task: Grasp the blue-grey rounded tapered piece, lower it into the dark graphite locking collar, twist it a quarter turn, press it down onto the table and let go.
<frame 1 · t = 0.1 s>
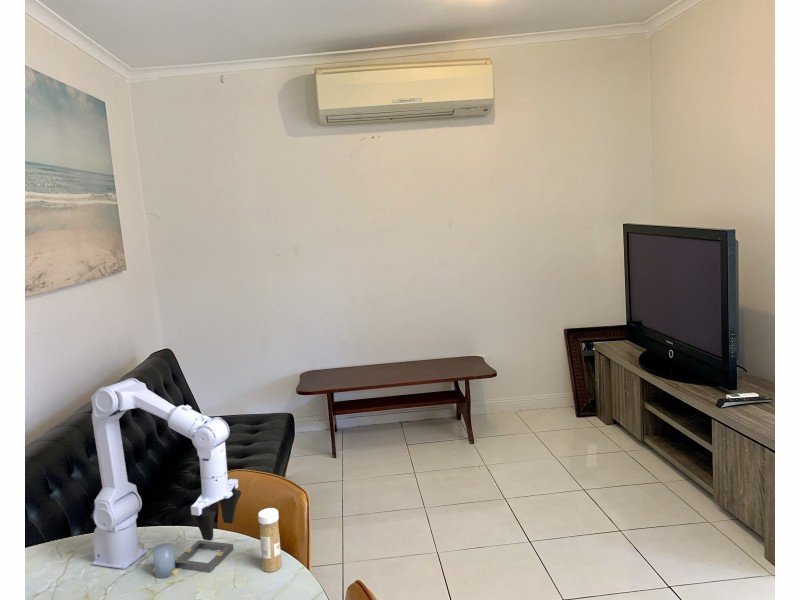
hand: (218, 530, 128), 10 cm above the table, fingers open, 7 cm apart
collar: (204, 558, 135), on the table
blue-grey rounded tapered piece: (165, 572, 130), on the table
sprinkles bottle: (272, 567, 131), on the table
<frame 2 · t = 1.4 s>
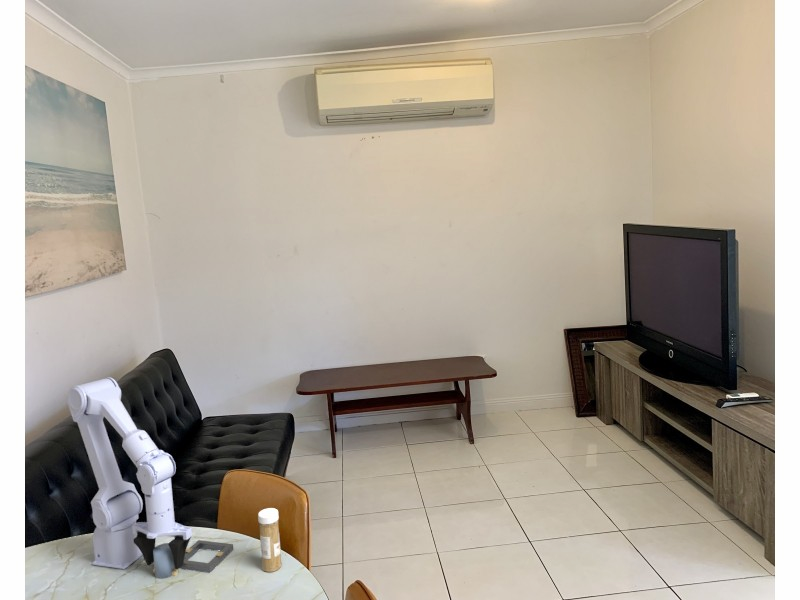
hand: (165, 564, 130), 2 cm above the table, fingers open, 7 cm apart
nothing on the table moved.
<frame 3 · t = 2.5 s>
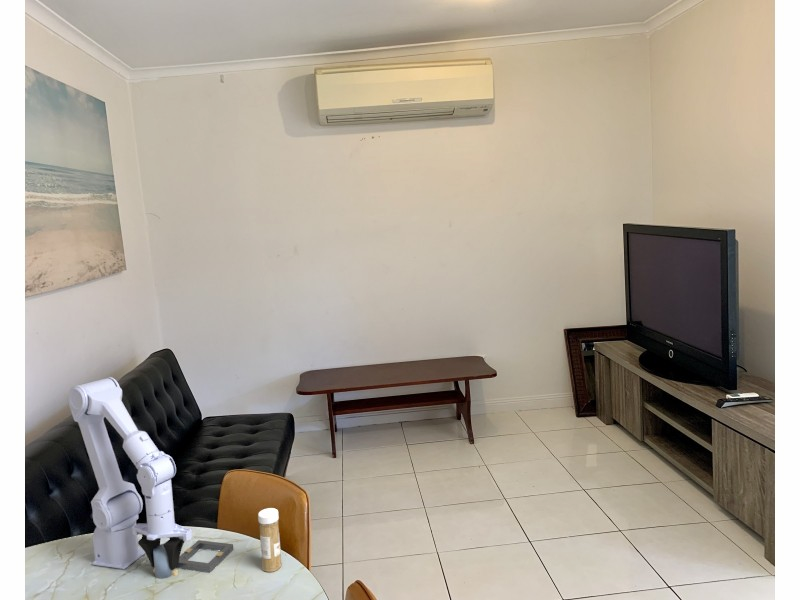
hand: (165, 566, 130), 2 cm above the table, fingers closed on blue-grey rounded tapered piece, 4 cm apart
blue-grey rounded tapered piece: (165, 572, 130), on the table, touching gripper
everything else where it was.
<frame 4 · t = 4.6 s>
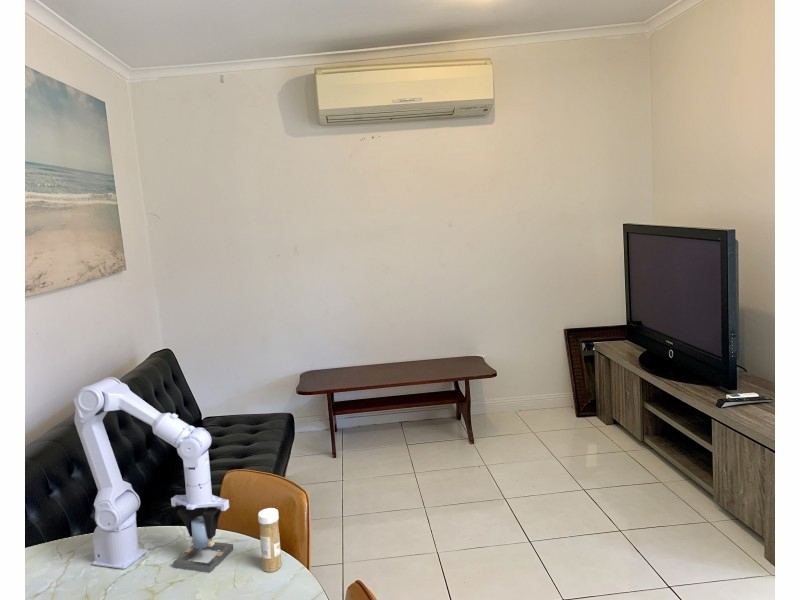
hand: (202, 535, 135), 6 cm above the table, fingers closed on blue-grey rounded tapered piece, 4 cm apart
blue-grey rounded tapered piece: (202, 543, 135), point 4 cm above the table, touching gripper
everything else where it was.
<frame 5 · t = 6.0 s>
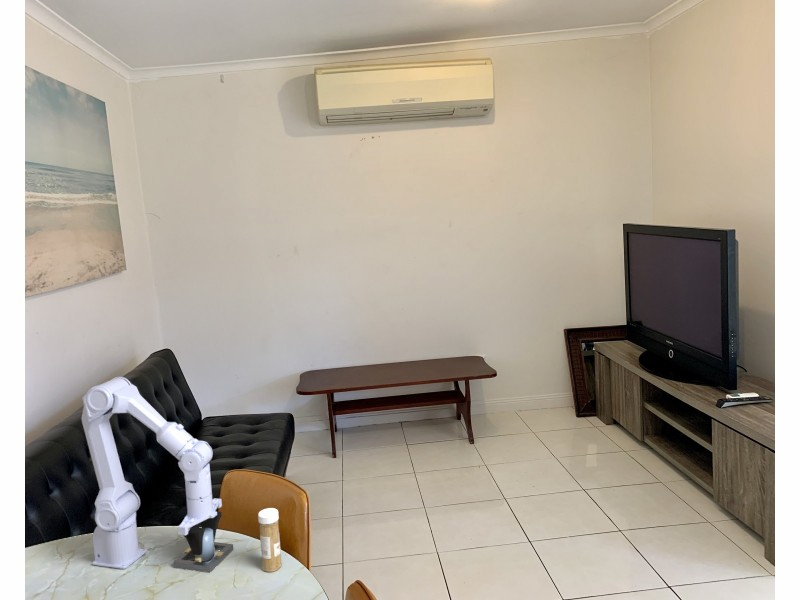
hand: (203, 548, 135), 3 cm above the table, fingers closed on blue-grey rounded tapered piece, 4 cm apart
blue-grey rounded tapered piece: (205, 556, 135), point 1 cm above the table, touching gripper
everything else where it was.
when the fingers open (2 cm above the table, at t = 6.7 s): blue-grey rounded tapered piece stays where it is, resting in collar.
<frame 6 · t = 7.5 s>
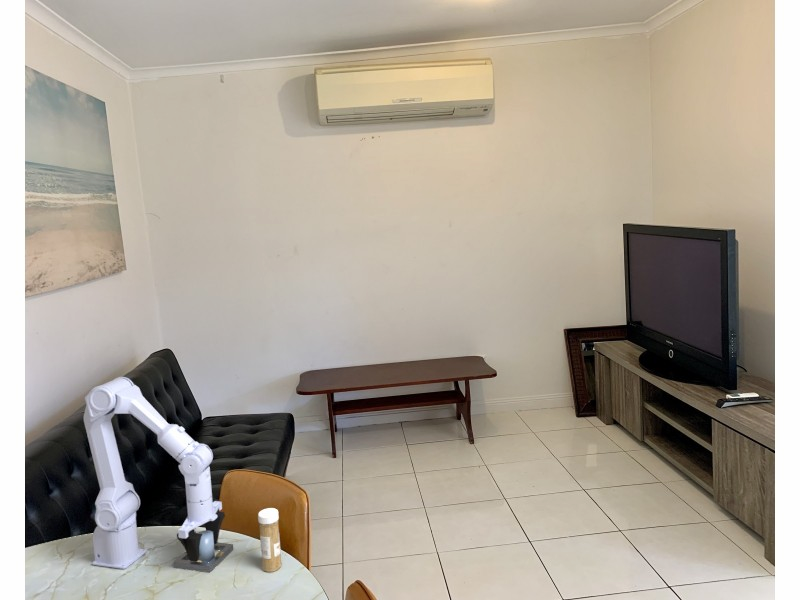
hand: (203, 551, 135), 2 cm above the table, fingers open, 7 cm apart
blue-grey rounded tapered piece: (205, 558, 135), resting in collar
everything else where it was.
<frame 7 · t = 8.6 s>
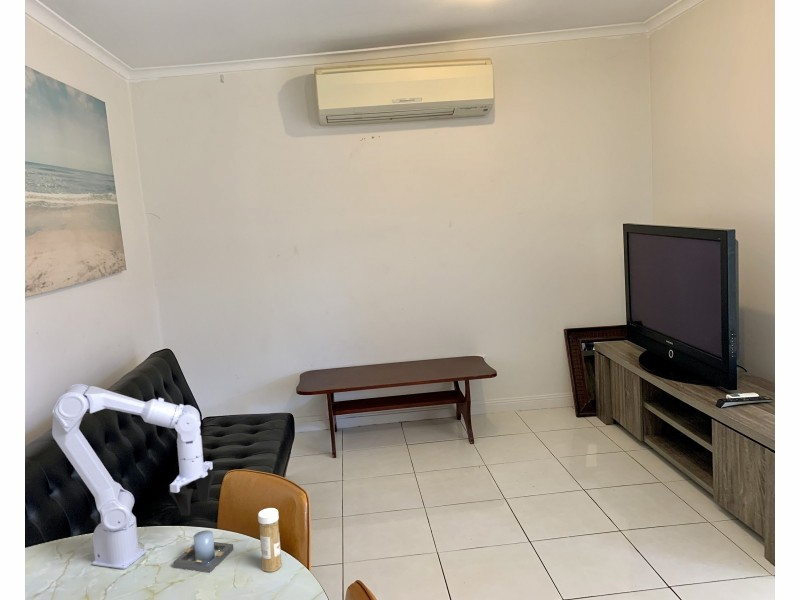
hand: (194, 507, 142), 9 cm above the table, fingers open, 7 cm apart
nothing on the table moved.
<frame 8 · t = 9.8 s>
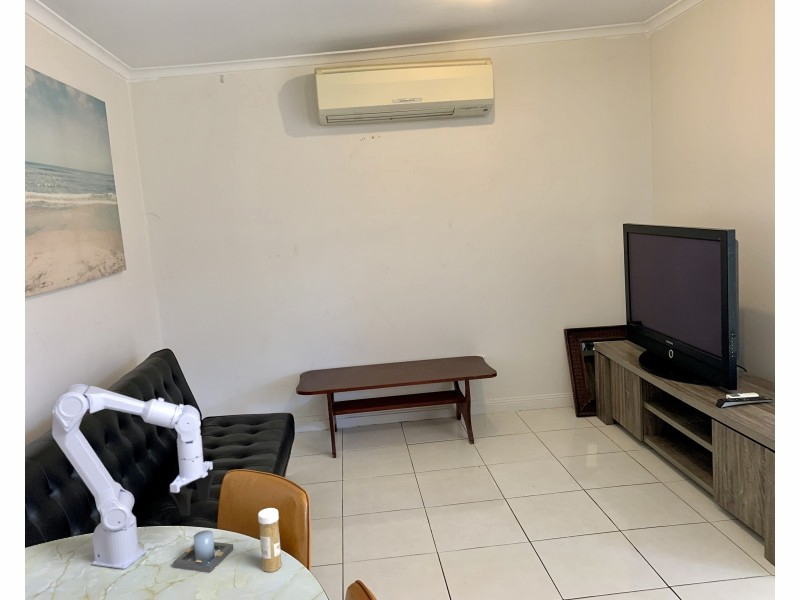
hand: (194, 507, 142), 9 cm above the table, fingers open, 7 cm apart
nothing on the table moved.
at the end: blue-grey rounded tapered piece 0.2 cm from the collar (horizontally); blue-grey rounded tapered piece tilted 0°; blue-grey rounded tapered piece resting in collar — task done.
